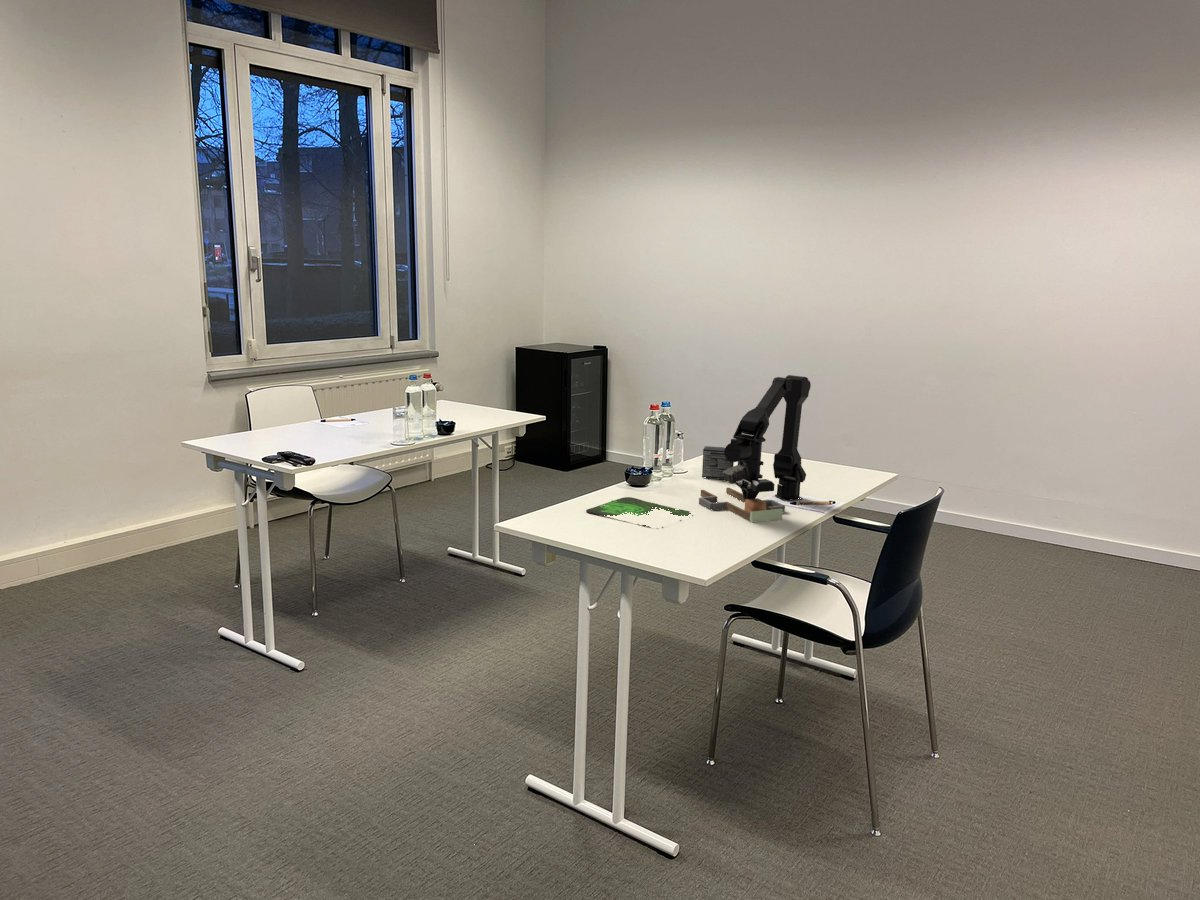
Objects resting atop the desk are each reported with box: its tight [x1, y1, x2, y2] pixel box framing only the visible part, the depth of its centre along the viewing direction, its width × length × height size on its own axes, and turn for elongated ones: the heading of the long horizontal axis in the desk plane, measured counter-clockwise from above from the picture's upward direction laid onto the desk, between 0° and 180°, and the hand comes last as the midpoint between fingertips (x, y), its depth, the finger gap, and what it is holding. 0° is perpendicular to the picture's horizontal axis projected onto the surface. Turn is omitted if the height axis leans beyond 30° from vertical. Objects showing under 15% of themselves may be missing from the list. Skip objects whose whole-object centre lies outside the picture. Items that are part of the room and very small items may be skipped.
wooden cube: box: [744, 497, 766, 513], centre depth 266 cm, size 4×4×4 cm
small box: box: [701, 445, 735, 480], centre depth 312 cm, size 11×6×10 cm, turn 76°
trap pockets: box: [698, 496, 786, 514], centre depth 274 cm, size 21×17×2 cm
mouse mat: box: [585, 496, 691, 527], centre depth 266 cm, size 27×22×1 cm
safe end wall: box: [749, 509, 784, 523], centre depth 261 cm, size 10×1×3 cm, turn 112°
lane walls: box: [700, 487, 773, 522], centre depth 275 cm, size 10×30×2 cm, turn 22°
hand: (748, 507), depth 270 cm, fingers closed
